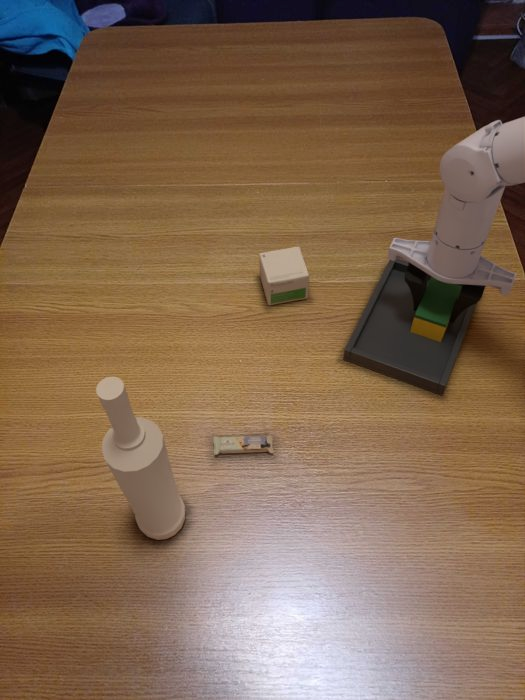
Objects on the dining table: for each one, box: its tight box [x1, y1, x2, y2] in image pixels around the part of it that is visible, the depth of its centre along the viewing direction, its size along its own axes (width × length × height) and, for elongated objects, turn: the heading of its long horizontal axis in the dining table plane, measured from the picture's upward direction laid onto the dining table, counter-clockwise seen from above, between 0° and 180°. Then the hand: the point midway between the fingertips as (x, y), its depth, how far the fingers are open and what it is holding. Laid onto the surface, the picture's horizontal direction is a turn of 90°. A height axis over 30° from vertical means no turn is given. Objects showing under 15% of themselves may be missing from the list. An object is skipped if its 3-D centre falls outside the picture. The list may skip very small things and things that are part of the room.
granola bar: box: [212, 434, 274, 456], centre depth 69 cm, size 7×2×1 cm, turn 91°
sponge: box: [410, 277, 462, 342], centre depth 78 cm, size 7×4×4 cm, turn 154°
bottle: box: [95, 376, 186, 541], centre depth 55 cm, size 5×5×25 cm
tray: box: [342, 258, 477, 396], centre depth 79 cm, size 13×18×2 cm
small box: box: [258, 245, 310, 306], centre depth 82 cm, size 6×6×5 cm
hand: (435, 311), depth 79 cm, fingers closed on sponge, 4 cm apart
